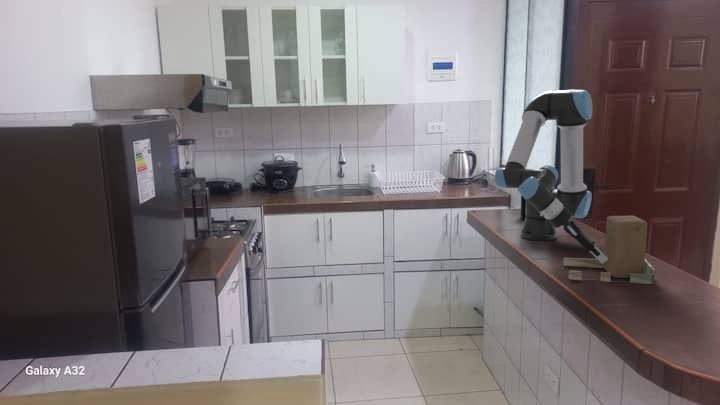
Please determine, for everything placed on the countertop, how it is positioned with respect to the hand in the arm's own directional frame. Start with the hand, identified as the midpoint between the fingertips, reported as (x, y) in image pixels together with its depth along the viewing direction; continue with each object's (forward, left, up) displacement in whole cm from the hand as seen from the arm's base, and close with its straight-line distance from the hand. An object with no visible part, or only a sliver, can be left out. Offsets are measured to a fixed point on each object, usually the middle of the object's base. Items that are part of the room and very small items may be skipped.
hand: (604, 260), depth 170 cm
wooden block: (-1, +6, -5) cm, 8 cm away
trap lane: (0, +1, -5) cm, 5 cm away
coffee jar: (-82, -19, -5) cm, 85 cm away
